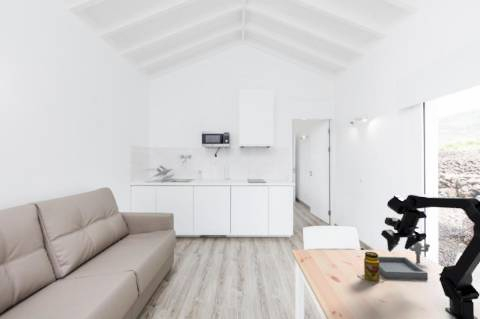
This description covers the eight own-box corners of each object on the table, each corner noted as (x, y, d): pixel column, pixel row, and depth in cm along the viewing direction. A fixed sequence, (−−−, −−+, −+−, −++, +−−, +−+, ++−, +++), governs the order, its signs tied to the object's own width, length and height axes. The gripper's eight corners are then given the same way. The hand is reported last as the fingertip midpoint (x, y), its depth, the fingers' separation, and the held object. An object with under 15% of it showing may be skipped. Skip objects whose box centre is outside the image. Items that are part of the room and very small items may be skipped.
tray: (427, 279, 111) (427, 272, 111) (385, 278, 113) (385, 271, 113) (405, 262, 129) (405, 257, 129) (369, 261, 130) (369, 256, 130)
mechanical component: (430, 264, 126) (430, 244, 126) (408, 262, 128) (408, 243, 128) (427, 261, 129) (427, 242, 129) (406, 260, 131) (405, 241, 131)
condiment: (372, 284, 107) (371, 257, 107) (357, 276, 115) (356, 250, 115) (384, 281, 109) (384, 254, 110) (369, 273, 117) (368, 248, 118)
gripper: (410, 208, 114) (399, 236, 119) (377, 211, 109) (367, 239, 115) (433, 223, 104) (419, 252, 110) (397, 227, 99) (385, 257, 105)
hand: (397, 249), depth 110 cm, fingers open, 9 cm apart
